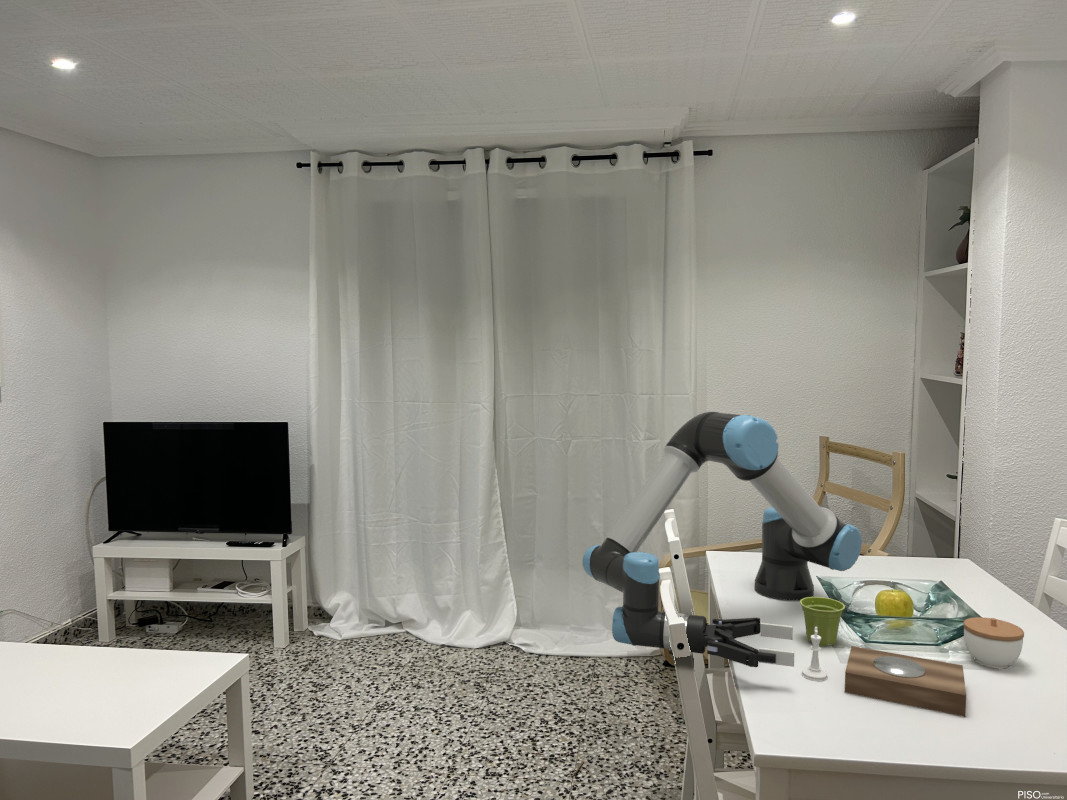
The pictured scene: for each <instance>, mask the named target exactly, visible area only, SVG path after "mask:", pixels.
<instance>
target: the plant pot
mask: <svg viewBox="0 0 1067 800" xmlns="http://www.w3.org/2000/svg"><path fill="white" fill-rule="evenodd" d="M799 604H800V606H801V608H802V612H803V616H804V618H803V619H804V624H805V631H806V633H805V634H806V640H807V641H808V642H811V644H812V640H811V635H815V631H814V629H815V627H817V632H818V634H817V635H819V636H820V637H821V641H820V643H819V645H818V646H819V647H820V646H822V647H827V646H829V645H831V646H834V645H836V644H837V639H838V632H839V628H840V627H839V626H840V623H841V616H842V615H843V611H844V610H845V608H846V605H845V604H844V603H843V602H841V601H839V600H836V599H833V598H829V597H822V596H813V597H807V598H803V599H801V600H799Z"/></svg>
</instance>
